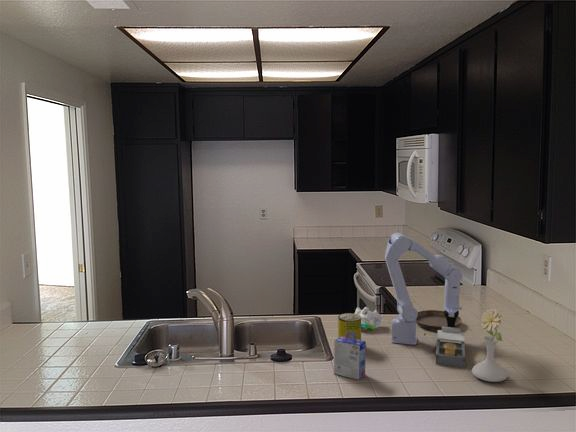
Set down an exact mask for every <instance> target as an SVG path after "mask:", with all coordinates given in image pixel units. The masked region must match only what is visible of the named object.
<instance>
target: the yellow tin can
mask: <svg viewBox="0 0 576 432" xmlns="http://www.w3.org/2000/svg"><path fill="white" fill-rule="evenodd" d="M337 320H338V321H337V324H338V325H337V332H338V334H337V339H338V338H339V337H346V335H347V332H351V333H356V339H357V340H362V326H361V316H360V315H357V314H355V313H351V312H349V313H348V312H347V313H345V312H344V313H341V314H339V315H338V319H337ZM348 337H353V338H354V336H353V335H348Z"/></svg>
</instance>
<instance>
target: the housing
mask: <svg viewBox="0 0 576 432" xmlns="http://www.w3.org/2000/svg"><path fill="white" fill-rule="evenodd" d="M446 343H451V344H455V345H456V350H455V356H452V355H445V349H444V344H446ZM465 348H466V347H465V341H464V342H453V341H443V340H437V339H436V349H435V365H441V366H450V367H458V368H465V367H466V353H465V352H466V351H465V350H466V349H465Z"/></svg>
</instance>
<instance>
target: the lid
mask: <svg viewBox="0 0 576 432" xmlns="http://www.w3.org/2000/svg"><path fill="white" fill-rule="evenodd" d="M436 337H437V338H436V341H437V340H440V341H444V342H454V343H461V342H464V343H465V332H462V331H461V328H460V327H456V328H451V327H442V330H438V331H437V336H436Z"/></svg>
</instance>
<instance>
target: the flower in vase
mask: <svg viewBox="0 0 576 432" xmlns="http://www.w3.org/2000/svg"><path fill="white" fill-rule="evenodd" d="M502 318H503V315H502V314H501V312H499V310H498V309H497V308H495V309H493V308H490V309H487V311H484V312H483V314H482V317H481V319H480V322H481V324H480V327H482V329H484V332H487V333H488V334H489V335H486V336H482V339H483V340H484V342H485V346H486V357H485V359H484V360H482V361H480V362H478V363H476V364H475V365H474V366H473V367H472V369H471V373H472V375H473V376H475V377H476V378H477V379H480V380H482V381H485V382H492V383H498V382H503V381H506V380H507V378H508V372H507V371H506V369H505V368H504V367H503V366H501V365H500V364H499V363H498V362H497V361H496V359H495V347H496V345H497V344H498V342H499V341H502V342H503V338H502V334H501V332H498V329H497V328H499V326H500V325H501V324H502V320H503V319H502ZM494 331H495V333H494Z"/></svg>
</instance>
